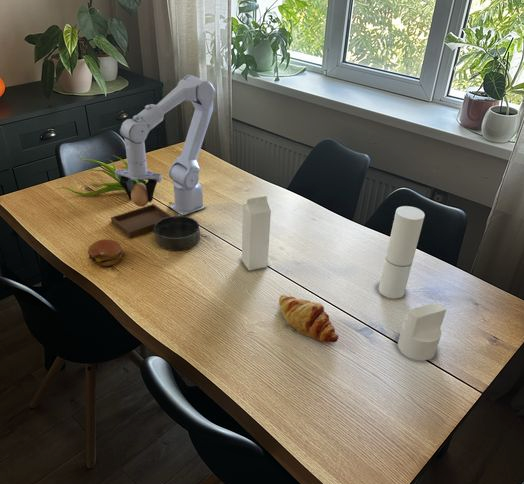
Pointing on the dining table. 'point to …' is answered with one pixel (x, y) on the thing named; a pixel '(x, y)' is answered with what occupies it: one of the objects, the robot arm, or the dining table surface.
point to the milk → (256, 233)
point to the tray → (139, 220)
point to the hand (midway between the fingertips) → (140, 199)
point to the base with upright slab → (422, 331)
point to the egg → (139, 194)
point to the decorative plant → (109, 185)
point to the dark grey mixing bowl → (176, 232)
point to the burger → (105, 252)
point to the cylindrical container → (401, 251)
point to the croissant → (308, 318)
